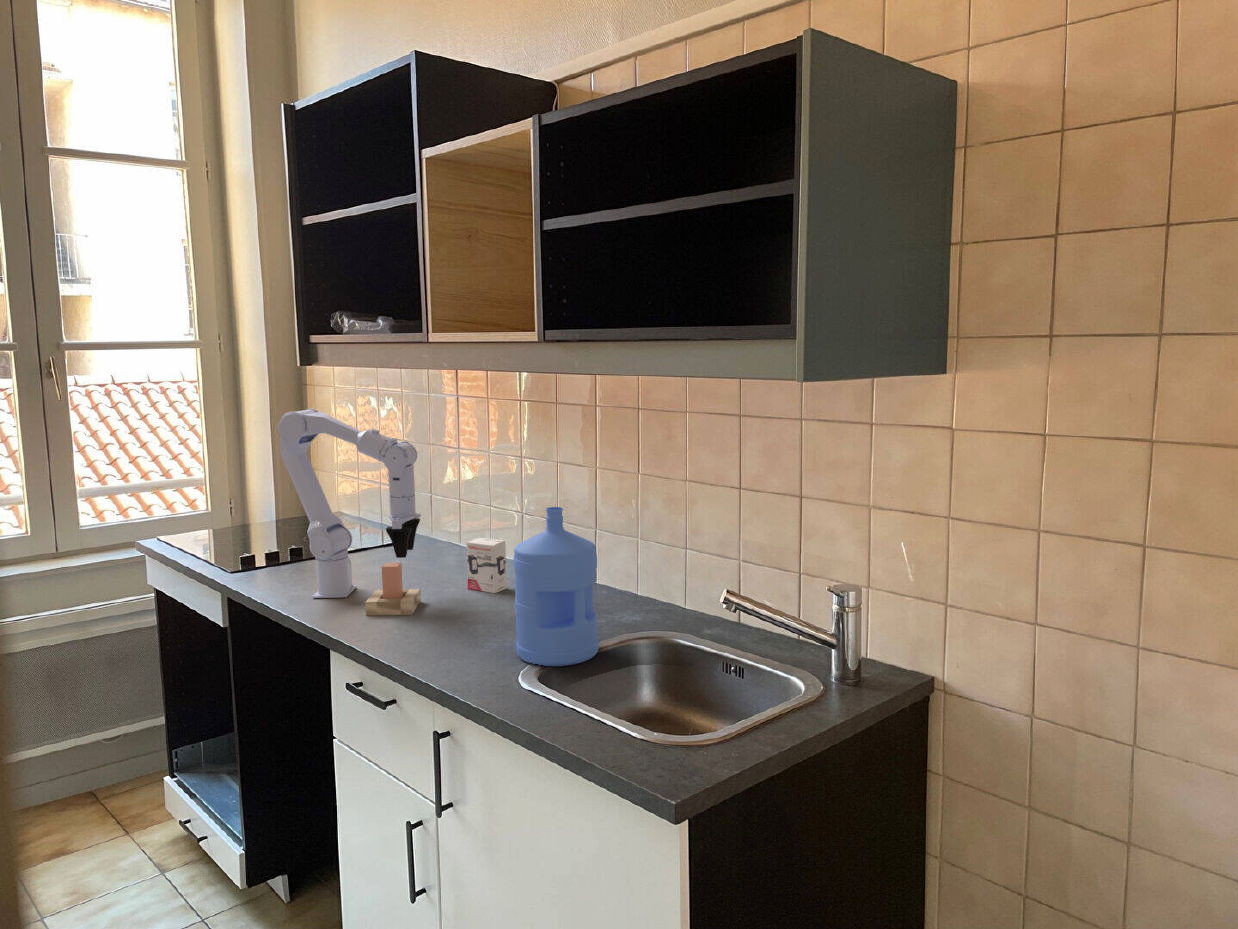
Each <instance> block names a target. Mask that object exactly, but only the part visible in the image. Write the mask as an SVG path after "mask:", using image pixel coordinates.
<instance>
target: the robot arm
mask: <svg viewBox="0 0 1238 929" xmlns="http://www.w3.org/2000/svg"><path fill="white" fill-rule="evenodd" d="M276 430H277V432H278V434H279V453H280V456H281V459H282V461H283V463H284V466H285V468H286V471H287V472H288V476H289V477H290V480H291V482H292V484H293V487H294V488H295V491H296V493H297V496H298V498H299V500H300V503H301V505H302V508H303V510H304V511H305V514H306V516H307V518H308V519H307V520H308V521H309V526H308V529H307V531H306V532H307V534H306V535H307V537H308V540H309V550H310V552H311V554H312V555H313V556H314V558H315V562H316V565H315V566H316V580H317V582H316V584H317V591H316V592H315V593H314V594H313V595H312V599H327V598H328V599H329V598H330V599H332V598H333V599H334V598H337V599H338V598H348V596H349V595H350V594H351V593H352V592H353V591H354V590H355V589H356V588H357V584H353V574H352V573H353V572H352V568H353V567H352V561H351V558H350V557H349V550H348V549H349V548H350V547H351V546H352V544H353V536H352V532H351V530H350V529H348V528H347V526H345V524H344V523H343V521H342V519H341V518H340V517H339V516H337V515H335V514H334V513H333V511H332V509H331V506H330V505H329V503H328V499H327V497H326V496H325V492H324V490H323V488H322V486H321V484H320V482H319V479H318V476H317V475H316V471H315V470H314V468H313V466H312V462H311V460H310V458H309V456H308V450H309V448H310V446H311V444H312V442H313V441H314V440H315V438H316V437H318V435H320V434H326V435H327V436H328V435H329V436H331V437H334V438H336V439H339V440H342V441H345V442H348V443H351V444H352V445H355V446H356V450H357V451H358V452H359V453H361V454H363V455H364V456H368V457H370V458H372V459H374V460H376V461H379V462H381V463H383V464H384V466H385V467H386V468H387V471H388V472H387V474H388V493H389V494H388V495H389V519H390V521H391V526H387V527H385V530H386V533H387V535H388V536H389V538H390V541H391V543H392V547H393V550H394V554H395V556H396V558H397V559H399V558H400V559H403V558H406V557H407V555H408V554H407V553H408V551H413V550H414V545H415V539H416V533H417V529H418V527H419V524H420V523H421V517H422V514H421V513H420V512H418V513H416V492H415V489H416V488H415V486H416V485H415V471H414V469H415V467H414V464H415V463H416V461H417V460H418V451H417V449H416V448H415V446H414V445H412V443H410V442H409V441H401V442H398V438H395V437H392V438H390V437H388V436H386V435H383V434H381V433H380V430H378V429H375V428H373V429H365V430H363V431H362V430H359V429H357V428H356V427H353V426H352V425H349V424H347V423H345V422H343V421H341V420H339V419H337V418H335V417H334V416H331V415H329V414H327V413H326V412H323V411H318V410H317V409H315V408H306V409H305V410H304V409H303V410H297V411H287V412H286V413H284V414H283V415H282V416H281V418H280V420H279V422H278V424H277V426H276ZM406 559H407V558H406Z"/></svg>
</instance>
